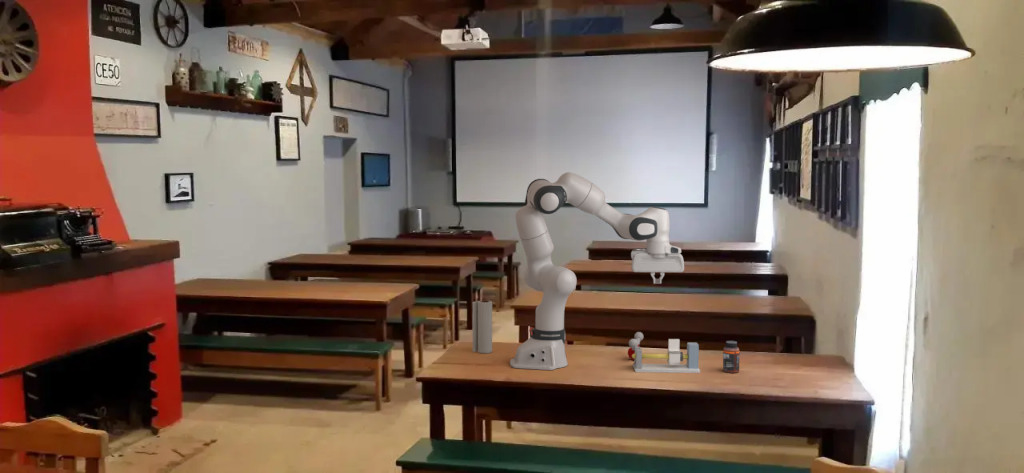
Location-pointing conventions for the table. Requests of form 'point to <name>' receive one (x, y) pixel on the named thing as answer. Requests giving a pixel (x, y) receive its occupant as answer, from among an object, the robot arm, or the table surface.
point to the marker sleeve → (674, 352)
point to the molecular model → (634, 344)
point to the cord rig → (682, 368)
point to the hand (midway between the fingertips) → (657, 283)
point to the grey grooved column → (482, 326)
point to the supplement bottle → (731, 357)
